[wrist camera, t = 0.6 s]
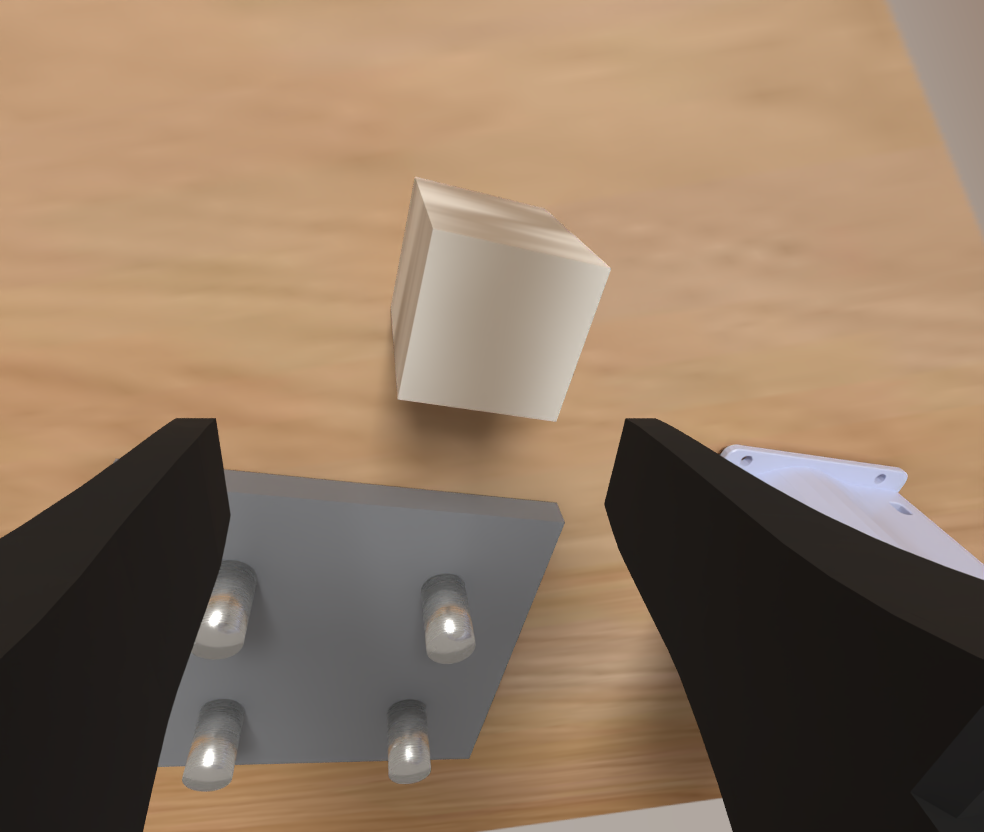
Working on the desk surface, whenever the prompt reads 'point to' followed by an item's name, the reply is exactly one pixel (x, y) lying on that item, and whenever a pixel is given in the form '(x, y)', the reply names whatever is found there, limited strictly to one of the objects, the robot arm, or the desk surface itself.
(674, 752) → the desk surface
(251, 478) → the peg board
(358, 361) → the desk surface
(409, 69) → the desk surface
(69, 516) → the robot arm
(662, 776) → the desk surface
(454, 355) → the cream block
